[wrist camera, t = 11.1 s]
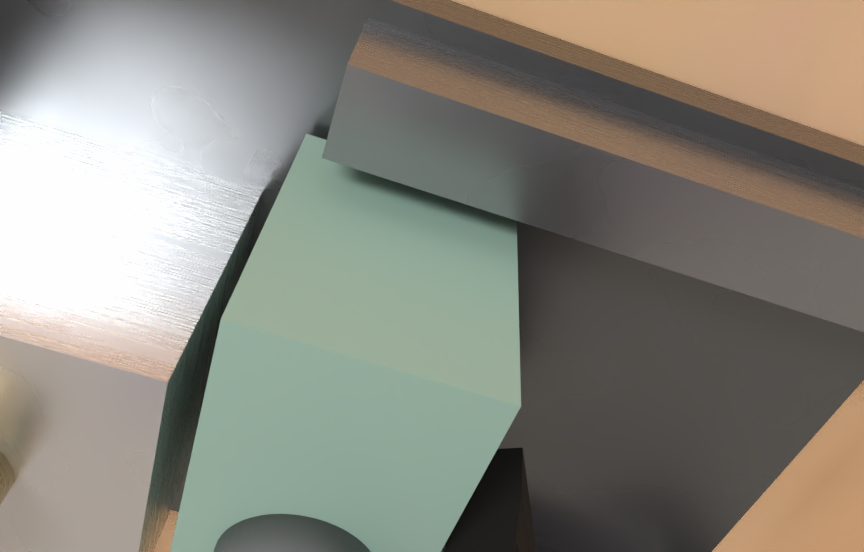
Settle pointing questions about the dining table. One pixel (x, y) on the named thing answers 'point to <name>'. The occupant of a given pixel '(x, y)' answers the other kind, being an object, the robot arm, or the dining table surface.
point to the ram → (356, 371)
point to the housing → (105, 333)
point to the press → (526, 221)
